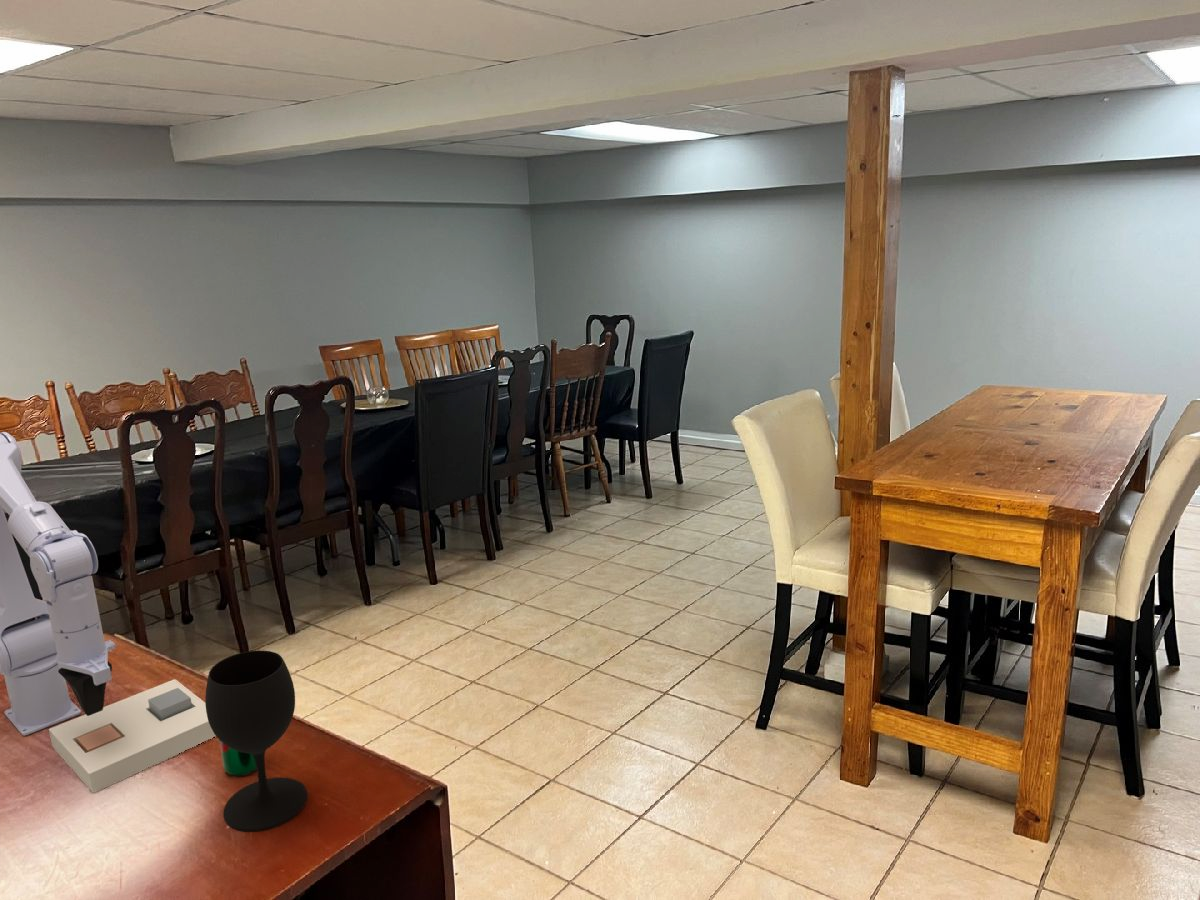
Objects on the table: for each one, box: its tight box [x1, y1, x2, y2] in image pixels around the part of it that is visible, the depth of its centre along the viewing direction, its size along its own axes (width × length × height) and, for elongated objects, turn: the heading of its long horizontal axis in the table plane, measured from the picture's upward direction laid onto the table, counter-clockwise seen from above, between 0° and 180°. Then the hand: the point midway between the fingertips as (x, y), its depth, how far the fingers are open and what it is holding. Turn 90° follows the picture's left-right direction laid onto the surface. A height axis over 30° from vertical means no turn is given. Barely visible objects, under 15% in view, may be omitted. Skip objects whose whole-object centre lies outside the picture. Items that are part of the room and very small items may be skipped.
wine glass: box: [204, 649, 308, 833], centre depth 111 cm, size 10×10×20 cm
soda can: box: [218, 739, 257, 777], centre depth 120 cm, size 5×5×12 cm
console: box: [48, 678, 216, 794], centre depth 128 cm, size 16×18×3 cm
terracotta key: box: [77, 725, 122, 753], centre depth 124 cm, size 4×4×2 cm
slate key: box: [148, 688, 192, 721], centre depth 131 cm, size 4×4×2 cm
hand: (93, 711), depth 123 cm, fingers closed
